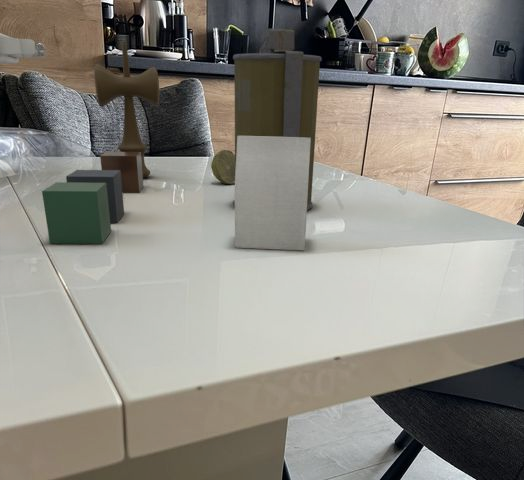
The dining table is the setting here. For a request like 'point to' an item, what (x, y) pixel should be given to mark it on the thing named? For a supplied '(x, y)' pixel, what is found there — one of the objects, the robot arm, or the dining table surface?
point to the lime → (224, 166)
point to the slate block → (113, 188)
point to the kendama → (128, 99)
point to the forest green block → (77, 213)
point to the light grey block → (271, 192)
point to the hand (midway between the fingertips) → (40, 48)
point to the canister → (277, 93)
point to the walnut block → (125, 169)
